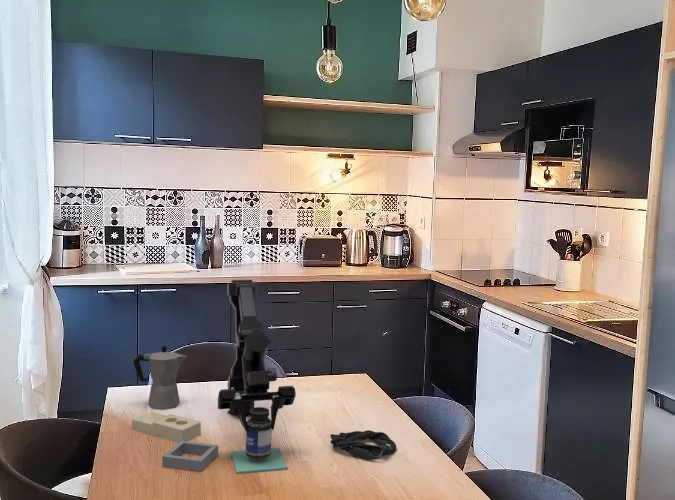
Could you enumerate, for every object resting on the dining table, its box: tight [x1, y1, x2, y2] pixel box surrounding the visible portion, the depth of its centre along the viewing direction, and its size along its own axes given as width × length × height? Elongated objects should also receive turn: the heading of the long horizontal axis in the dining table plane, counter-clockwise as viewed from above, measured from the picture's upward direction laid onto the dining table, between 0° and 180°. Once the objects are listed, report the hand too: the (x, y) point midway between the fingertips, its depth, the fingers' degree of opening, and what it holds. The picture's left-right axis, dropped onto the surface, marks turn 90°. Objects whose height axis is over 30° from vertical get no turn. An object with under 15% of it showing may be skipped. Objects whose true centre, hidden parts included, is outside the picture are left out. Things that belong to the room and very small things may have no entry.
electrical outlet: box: [131, 411, 202, 443], centre depth 177 cm, size 7×4×18 cm
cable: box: [329, 429, 397, 461], centre depth 170 cm, size 17×14×4 cm
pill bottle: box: [245, 406, 273, 459], centre depth 160 cm, size 6×6×11 cm
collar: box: [161, 440, 219, 472], centre depth 159 cm, size 10×10×2 cm
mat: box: [230, 447, 289, 475], centre depth 160 cm, size 12×12×1 cm
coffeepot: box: [132, 345, 188, 411], centre depth 197 cm, size 15×9×18 cm, turn 103°
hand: (259, 430), depth 158 cm, fingers closed on pill bottle, 6 cm apart
